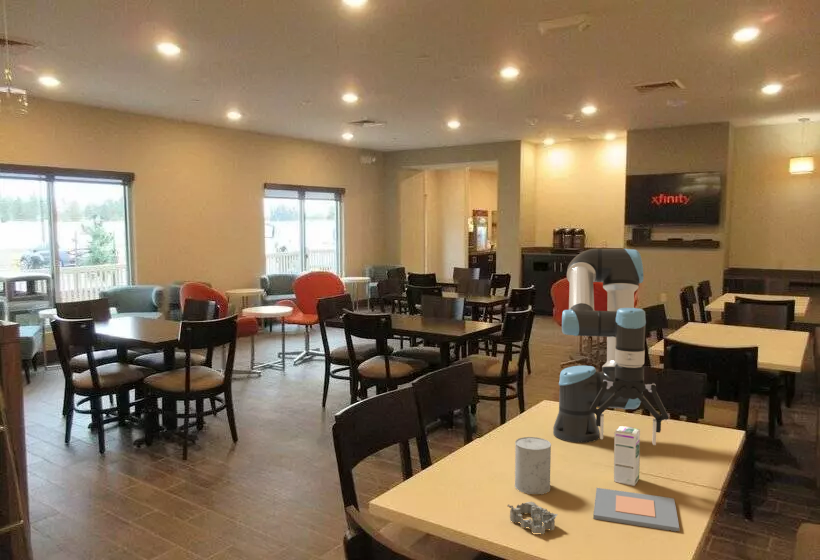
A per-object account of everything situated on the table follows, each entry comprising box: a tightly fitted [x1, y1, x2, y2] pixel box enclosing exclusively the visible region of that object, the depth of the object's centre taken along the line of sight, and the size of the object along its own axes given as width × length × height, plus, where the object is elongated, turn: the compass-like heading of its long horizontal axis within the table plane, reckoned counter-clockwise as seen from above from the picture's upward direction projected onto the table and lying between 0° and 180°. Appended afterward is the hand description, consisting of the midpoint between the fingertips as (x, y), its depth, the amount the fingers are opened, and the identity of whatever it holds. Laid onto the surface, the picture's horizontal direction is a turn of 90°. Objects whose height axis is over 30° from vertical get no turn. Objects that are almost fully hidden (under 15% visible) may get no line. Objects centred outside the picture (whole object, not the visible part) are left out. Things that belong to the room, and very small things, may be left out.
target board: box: [592, 487, 680, 532], centre depth 148 cm, size 19×16×1 cm
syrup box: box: [613, 425, 641, 487], centre depth 165 cm, size 6×6×14 cm
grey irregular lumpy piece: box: [507, 501, 558, 535], centre depth 141 cm, size 11×8×4 cm
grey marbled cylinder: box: [514, 436, 552, 495], centre depth 161 cm, size 10×10×12 cm
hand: (627, 440), depth 164 cm, fingers open, 13 cm apart
